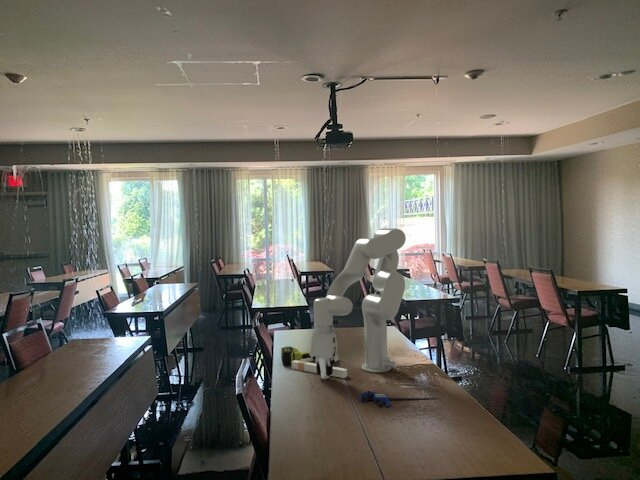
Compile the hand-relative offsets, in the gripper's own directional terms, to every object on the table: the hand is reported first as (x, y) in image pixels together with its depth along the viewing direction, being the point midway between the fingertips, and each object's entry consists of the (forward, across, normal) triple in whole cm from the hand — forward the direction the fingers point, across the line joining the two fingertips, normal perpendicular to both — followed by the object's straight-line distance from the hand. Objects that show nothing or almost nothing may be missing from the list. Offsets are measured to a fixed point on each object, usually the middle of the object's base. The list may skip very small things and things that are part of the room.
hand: (324, 373), depth 177 cm
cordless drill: (+2, +22, -21) cm, 30 cm away
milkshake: (+2, 0, 0) cm, 2 cm away
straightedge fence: (+2, +6, -5) cm, 8 cm away
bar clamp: (+2, -37, +6) cm, 38 cm away
